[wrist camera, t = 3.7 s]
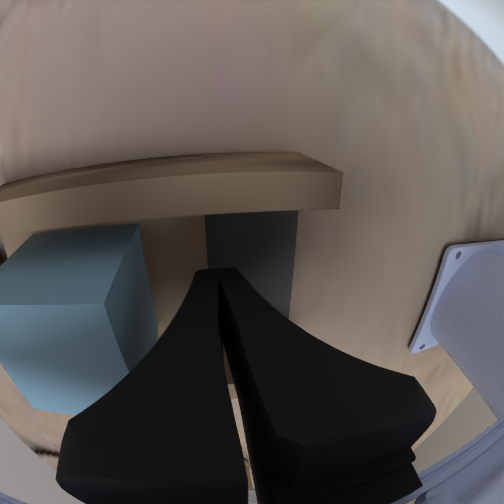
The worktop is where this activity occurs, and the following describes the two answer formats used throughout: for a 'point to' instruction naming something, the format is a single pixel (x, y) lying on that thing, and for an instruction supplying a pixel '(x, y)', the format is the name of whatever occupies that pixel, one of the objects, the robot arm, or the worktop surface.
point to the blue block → (75, 314)
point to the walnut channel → (185, 216)
